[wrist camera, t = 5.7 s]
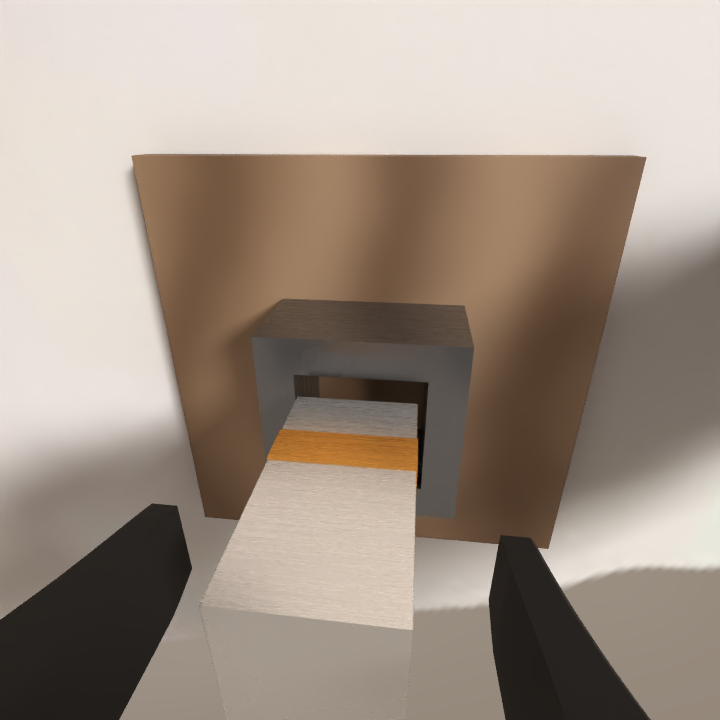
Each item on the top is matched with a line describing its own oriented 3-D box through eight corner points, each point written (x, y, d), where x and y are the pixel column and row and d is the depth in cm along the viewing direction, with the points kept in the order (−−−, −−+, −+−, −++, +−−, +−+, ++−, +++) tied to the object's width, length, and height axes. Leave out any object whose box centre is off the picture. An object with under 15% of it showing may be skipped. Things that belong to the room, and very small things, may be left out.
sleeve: (464, 305, 16) (474, 347, 13) (449, 455, 19) (454, 519, 16) (282, 298, 17) (251, 336, 14) (294, 443, 20) (270, 502, 17)
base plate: (632, 155, 14) (646, 157, 13) (543, 531, 22) (548, 548, 21) (147, 154, 16) (131, 155, 15) (213, 501, 23) (205, 516, 22)
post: (418, 403, 13) (414, 629, 7) (413, 498, 15) (405, 747, 9) (296, 395, 14) (196, 603, 8) (303, 489, 15) (225, 722, 9)
